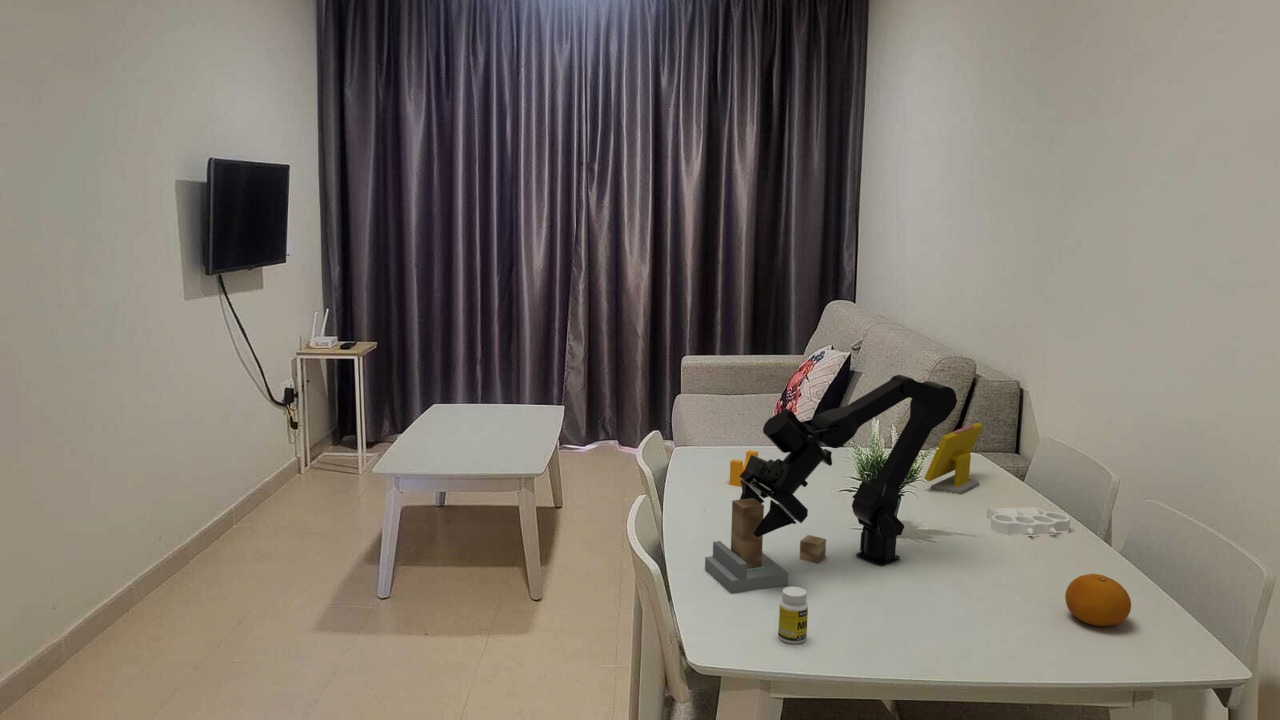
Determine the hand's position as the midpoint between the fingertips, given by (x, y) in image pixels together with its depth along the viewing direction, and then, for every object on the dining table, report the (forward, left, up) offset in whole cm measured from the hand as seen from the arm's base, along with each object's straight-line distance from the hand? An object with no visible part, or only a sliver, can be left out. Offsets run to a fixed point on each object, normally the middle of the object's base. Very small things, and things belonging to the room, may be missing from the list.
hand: (744, 527), depth 179 cm
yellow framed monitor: (+10, -85, -10) cm, 86 cm away
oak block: (-1, -19, -10) cm, 21 cm away
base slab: (0, -1, -10) cm, 10 cm away
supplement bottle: (-23, +10, -10) cm, 27 cm away
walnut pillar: (0, -1, -8) cm, 8 cm away
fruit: (-50, -39, -10) cm, 64 cm away
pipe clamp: (+45, -44, -11) cm, 63 cm away
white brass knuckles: (-17, -72, -11) cm, 75 cm away
